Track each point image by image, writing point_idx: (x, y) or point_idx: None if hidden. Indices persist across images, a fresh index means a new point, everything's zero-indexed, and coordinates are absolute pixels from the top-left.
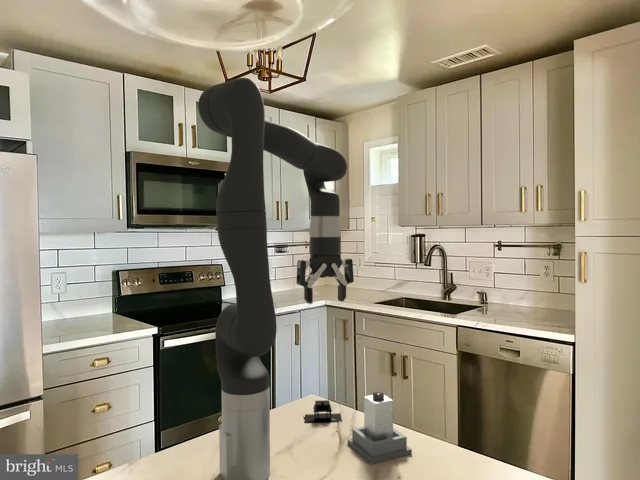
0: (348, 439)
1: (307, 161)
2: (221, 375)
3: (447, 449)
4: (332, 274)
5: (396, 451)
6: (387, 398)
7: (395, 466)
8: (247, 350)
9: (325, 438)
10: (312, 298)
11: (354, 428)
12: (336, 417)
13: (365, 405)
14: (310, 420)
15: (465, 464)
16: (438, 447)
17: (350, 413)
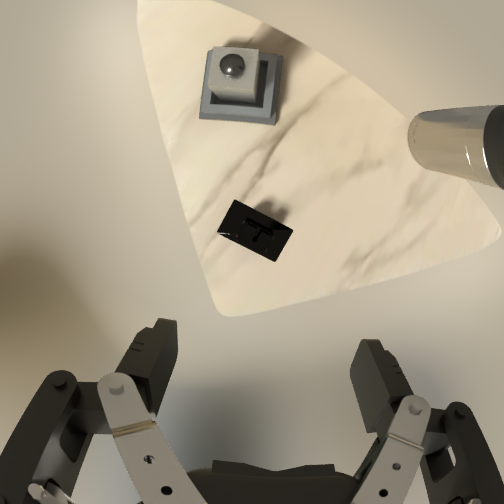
0: (274, 123)
1: None
2: None
3: (155, 45)
4: (217, 480)
5: None
6: (217, 57)
7: (254, 38)
8: None
9: (294, 161)
10: (372, 352)
11: (266, 115)
12: (233, 218)
13: (254, 87)
14: (280, 232)
15: (169, 8)
16: (161, 53)
17: (201, 222)
